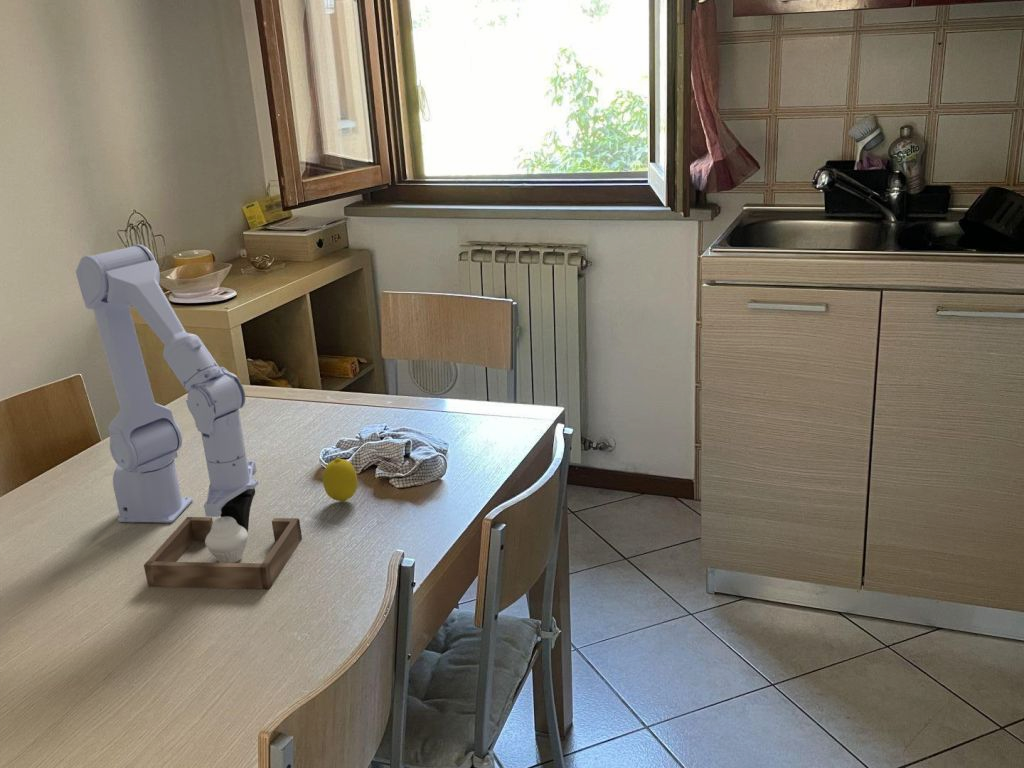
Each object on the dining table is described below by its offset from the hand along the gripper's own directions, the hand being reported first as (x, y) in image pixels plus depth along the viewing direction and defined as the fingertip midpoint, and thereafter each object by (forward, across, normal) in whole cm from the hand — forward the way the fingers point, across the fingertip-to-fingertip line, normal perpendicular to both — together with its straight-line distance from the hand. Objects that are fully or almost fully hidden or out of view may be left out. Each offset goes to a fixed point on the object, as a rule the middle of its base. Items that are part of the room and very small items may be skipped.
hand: (239, 536), depth 142 cm
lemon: (+2, +14, -12) cm, 19 cm away
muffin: (+2, -4, 0) cm, 5 cm away
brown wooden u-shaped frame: (+1, -5, 0) cm, 5 cm away
